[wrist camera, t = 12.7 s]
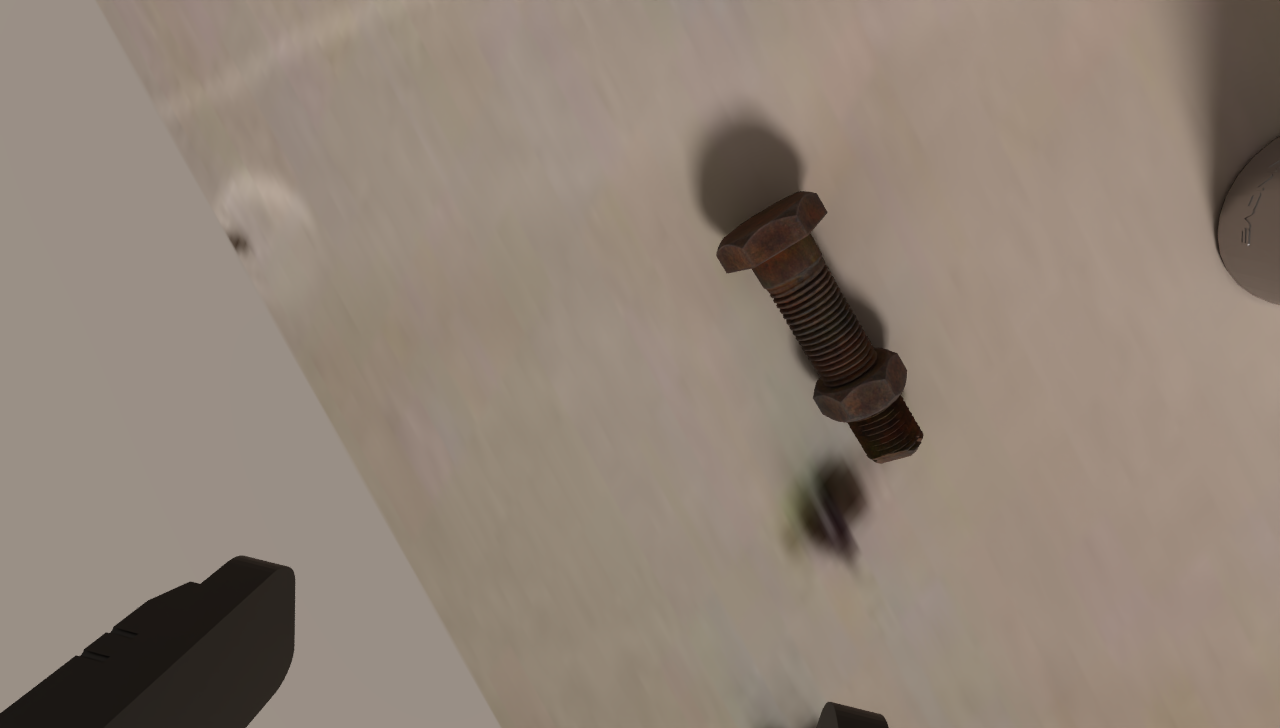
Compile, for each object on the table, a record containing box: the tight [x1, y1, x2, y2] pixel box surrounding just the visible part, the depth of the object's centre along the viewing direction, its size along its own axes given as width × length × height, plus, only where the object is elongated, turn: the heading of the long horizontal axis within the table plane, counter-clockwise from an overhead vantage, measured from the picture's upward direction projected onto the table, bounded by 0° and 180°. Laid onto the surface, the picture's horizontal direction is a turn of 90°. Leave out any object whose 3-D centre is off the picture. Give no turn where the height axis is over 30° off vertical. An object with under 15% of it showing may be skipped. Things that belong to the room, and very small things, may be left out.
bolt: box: [716, 191, 923, 463], centre depth 36 cm, size 6×5×15 cm
